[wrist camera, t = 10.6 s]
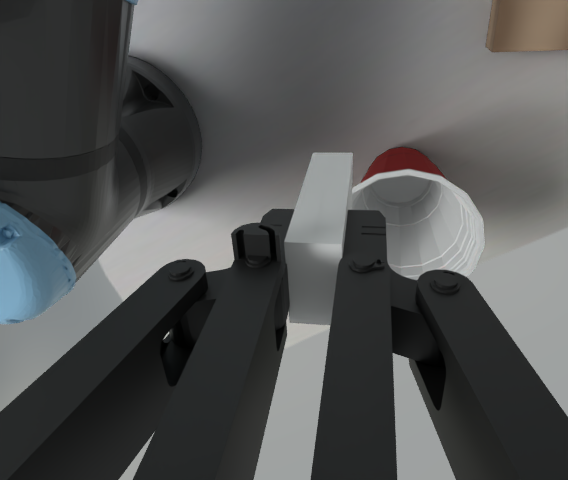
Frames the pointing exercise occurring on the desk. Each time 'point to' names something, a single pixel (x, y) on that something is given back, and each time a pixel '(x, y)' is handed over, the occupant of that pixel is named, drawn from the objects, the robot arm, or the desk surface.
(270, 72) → the desk surface
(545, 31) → the board
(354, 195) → the plastic cup
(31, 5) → the robot arm
